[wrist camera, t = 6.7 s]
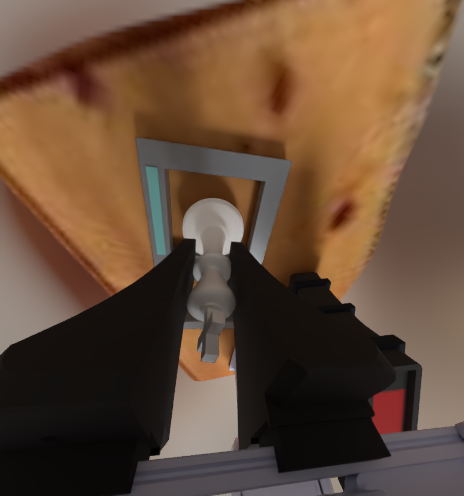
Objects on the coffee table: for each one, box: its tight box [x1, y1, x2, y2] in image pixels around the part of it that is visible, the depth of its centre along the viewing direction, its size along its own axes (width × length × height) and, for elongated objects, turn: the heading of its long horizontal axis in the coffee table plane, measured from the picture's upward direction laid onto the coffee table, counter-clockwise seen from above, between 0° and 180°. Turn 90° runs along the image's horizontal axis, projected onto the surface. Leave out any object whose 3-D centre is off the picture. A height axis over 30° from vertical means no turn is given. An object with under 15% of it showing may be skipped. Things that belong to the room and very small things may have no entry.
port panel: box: [136, 138, 292, 329], centre depth 17 cm, size 20×10×1 cm, turn 172°
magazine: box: [289, 272, 422, 491], centre depth 17 cm, size 4×13×15 cm, turn 3°
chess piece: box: [182, 198, 244, 363], centre depth 9 cm, size 5×5×10 cm
